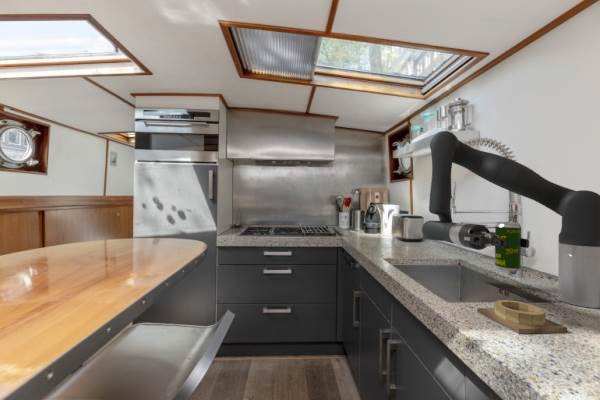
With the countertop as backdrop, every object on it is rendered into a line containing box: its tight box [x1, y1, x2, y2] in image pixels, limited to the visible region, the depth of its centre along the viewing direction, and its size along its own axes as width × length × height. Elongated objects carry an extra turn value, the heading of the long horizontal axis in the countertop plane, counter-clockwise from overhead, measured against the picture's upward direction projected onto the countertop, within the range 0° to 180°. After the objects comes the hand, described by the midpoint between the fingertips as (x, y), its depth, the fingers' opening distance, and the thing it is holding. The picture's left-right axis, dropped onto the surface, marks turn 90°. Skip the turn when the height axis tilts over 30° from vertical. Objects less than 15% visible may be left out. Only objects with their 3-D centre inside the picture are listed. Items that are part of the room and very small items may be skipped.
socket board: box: [477, 299, 568, 334], centre depth 67 cm, size 12×12×4 cm
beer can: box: [494, 221, 522, 272], centre depth 71 cm, size 5×5×12 cm
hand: (516, 243), depth 69 cm, fingers closed on beer can, 5 cm apart
